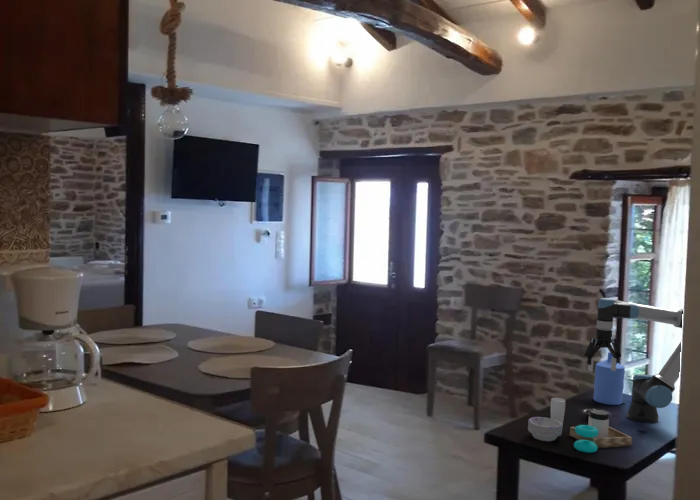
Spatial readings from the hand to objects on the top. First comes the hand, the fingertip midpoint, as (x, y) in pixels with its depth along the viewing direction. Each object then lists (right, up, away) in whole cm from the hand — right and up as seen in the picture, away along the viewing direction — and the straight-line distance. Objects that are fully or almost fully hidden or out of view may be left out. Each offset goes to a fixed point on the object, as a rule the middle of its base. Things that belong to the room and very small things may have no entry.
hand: (601, 371), depth 340 cm
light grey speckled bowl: (-37, -27, -27) cm, 53 cm away
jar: (-12, -27, -25) cm, 39 cm away
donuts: (-22, -28, -40) cm, 54 cm away
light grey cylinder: (-27, -26, -14) cm, 40 cm away
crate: (-11, -28, -27) cm, 40 cm away
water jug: (+20, -26, +45) cm, 56 cm away
